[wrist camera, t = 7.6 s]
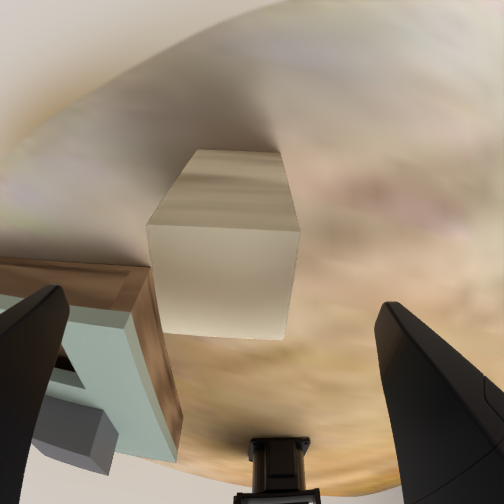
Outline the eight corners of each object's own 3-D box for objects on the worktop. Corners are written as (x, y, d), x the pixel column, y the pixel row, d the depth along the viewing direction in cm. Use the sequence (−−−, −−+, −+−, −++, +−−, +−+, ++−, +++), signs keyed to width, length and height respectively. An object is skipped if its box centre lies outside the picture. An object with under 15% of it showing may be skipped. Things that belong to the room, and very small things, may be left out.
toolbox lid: (177, 452, 25) (170, 500, 20) (50, 423, 25) (36, 463, 20) (130, 312, 15) (97, 397, 11) (-38, 286, 15) (-77, 336, 11)
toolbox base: (183, 417, 28) (177, 452, 25) (62, 394, 28) (50, 423, 25) (151, 267, 19) (130, 312, 15) (-9, 255, 18) (-38, 286, 15)
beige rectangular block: (273, 226, 17) (283, 340, 10) (198, 222, 17) (162, 332, 10) (280, 152, 15) (300, 231, 8) (197, 149, 15) (145, 224, 8)
